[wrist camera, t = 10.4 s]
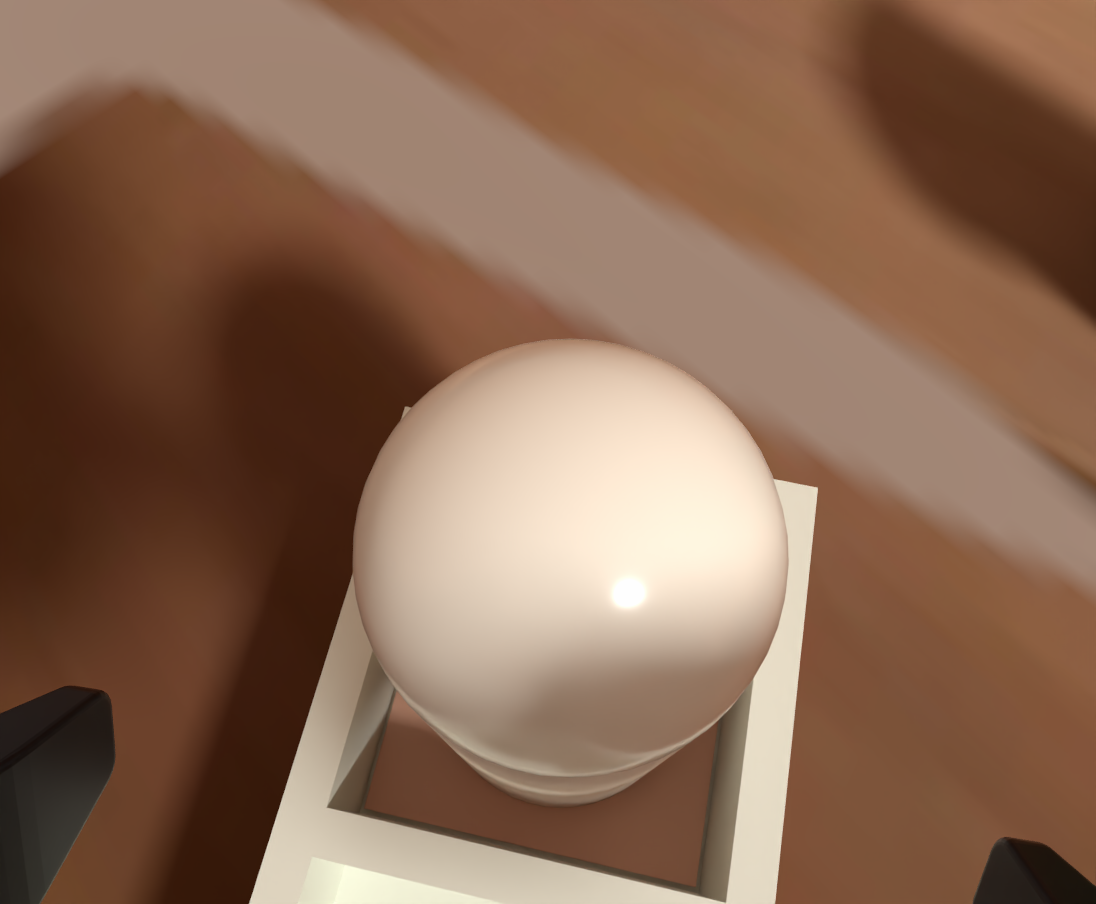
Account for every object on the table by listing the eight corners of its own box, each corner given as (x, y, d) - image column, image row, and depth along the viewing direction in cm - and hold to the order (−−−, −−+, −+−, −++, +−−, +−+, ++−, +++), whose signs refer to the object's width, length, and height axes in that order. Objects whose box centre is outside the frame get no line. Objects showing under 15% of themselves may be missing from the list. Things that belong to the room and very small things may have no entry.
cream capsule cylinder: (584, 864, 18) (638, 894, 7) (389, 699, 19) (187, 516, 8) (728, 655, 19) (947, 427, 9) (539, 516, 21) (529, 171, 10)
